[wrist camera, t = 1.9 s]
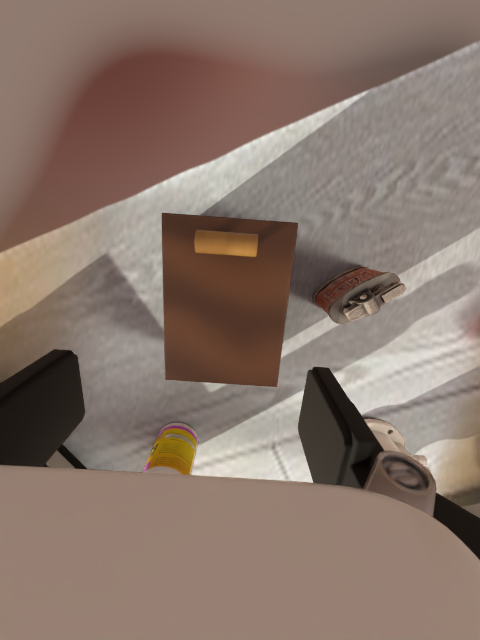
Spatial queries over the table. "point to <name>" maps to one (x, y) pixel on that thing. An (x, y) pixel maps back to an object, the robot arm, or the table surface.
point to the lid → (225, 297)
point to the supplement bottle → (173, 450)
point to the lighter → (357, 293)
